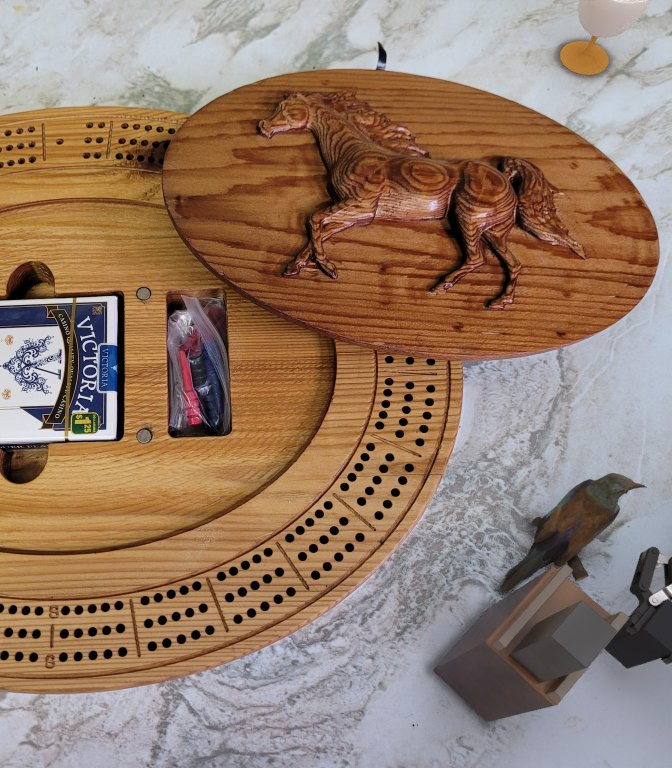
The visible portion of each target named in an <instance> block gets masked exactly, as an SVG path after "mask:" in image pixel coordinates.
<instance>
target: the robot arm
mask: <svg viewBox="0 0 672 768" xmlns="http://www.w3.org/2000/svg"><path fill="white" fill-rule="evenodd" d="M662 566H663V576H664V579H663V580H664V586H663V587H661V588H660V589H658V590H656V591H654V592H652V590H651V589H650V588H651V584H652V581H653V577H654V574H655V572H656V570H658V569H660V568H661V567H662ZM629 592H630V593H631V594H632V595H633V596H635V597H636V599H637V601H638V605H637V606H636V607H635V609H634V610H633V611H632V612H631V613H630V614H629V615H628V616H629V619H628V620H627V622H626V624H627V625H628V628H627V629H626V630H627V631H628V632H629V633H630V634H634V633H637V632H638V631H639V630H640V629H641V628H642V627H643V625H644V624H645V623H646V622H647V620H648V619H649V618H650V617H651V616H652V614H653V613H654V612H655V611H656V609H655V607H656V606H657V605H659V604H661V603H662V602H663V601H664V600H666V599H669V600H670V601H672V556H667V555H665V554H664V553H663V554H662V553H661V551H660V549H659V548H658V547H657V546H651V547H649V548H647V549H645V550H643V551H641V552H640V554H639V557H638V561H637V564H636V567H635V569H634V573H633V575H632V580H631V582H630V586H629ZM660 661H662V662H663V663H664V664H665V665H669V664H672V655H670V656H667V657H663V658H660Z"/></svg>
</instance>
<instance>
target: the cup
mask: <svg viewBox="0 0 672 768" xmlns="http://www.w3.org/2000/svg"><path fill="white" fill-rule="evenodd" d="M652 1H653V0H578V8H577V15H578V16H577V17H578V21H579V23H580V25H581V27H582V28H583V30H584V31H586V33H588V34H589V35H591V38H590V40H589V41H585V40H577V41H571V42H569V43H567V44H565V45H564V46H563V47H562V49H561V50H560V51H559V60H560V61H561V63H562V65H563V66H564V67H565V68H566V69H567V70H569V71H571V72H573V73H575V74H578V75H584V76H593V75H598V74H600V73H602V72H603V71H605V70H606V68H607V67H608V65H609V55H608V54H607V52H606V50H604V49H603V48H602V47H601V46H600V45H598V44H595V43H596V42H597V40H598V39H599V38H603V39H607V38H613V37H617V36H619V35H621V34H623V33H625V32H626V31H628V30H630V29H632V27H634V25H636V23H637V22H638V21H639V20H640V19H641V17H642V16H643V14H645V12H646V10H647V9H648V7H649V6H650V5H651V3H652Z"/></svg>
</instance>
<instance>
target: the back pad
mask: <svg viewBox="0 0 672 768" xmlns="http://www.w3.org/2000/svg"><path fill="white" fill-rule="evenodd" d="M655 609H656V611H655V612H654V613H653V614H652V616H651V617H650V618H649V619H648V620H647V622H646V623H645V624H644V625H643V627H642V628H641V629H640V630H639V631H638V632H637V633H634V634H630V633H629V632H628V631H627V630H626V629H627V628H628V625H627V624H626V623H625V624H624V625H623V626H622V628H621V629H620V630H619V631H618V632H617V634H616V635H615V636H614V637H613V638H612V640H611V641H610V642H609V643H608V644H607V646H606V647H605V648H604V649H603V650H605V651H606V652H607V653H608V654H609V655H610V656H612V657H613V658H614V659H615V660H616V661H617V662H619V663H620V664H621V665H622V666H623V667H624V668H626V669H630V668H634V667H637V666H641V665H644V664H647V663H650V662H653V661H656V660H661V658H663V657H667V656H670V655H672V600H670V599H666V600H664V601H663V602H662V603H661V604H659V605H657V606H656V607H655ZM627 616H628V617H629V616H630V615H627Z"/></svg>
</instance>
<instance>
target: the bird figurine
mask: <svg viewBox="0 0 672 768" xmlns="http://www.w3.org/2000/svg"><path fill="white" fill-rule="evenodd" d="M641 488H642V489H643V488H646V489H647V488H648V487H647V486H646V485H645V484H641V483H638V482H635V481H634V480H633V479H631V478H629V477H628V476H626V475H624V474H620V473H615V472H610V473H607V474H606V475H604V476H601V477H599V478H598V479H591V478H588V479H585V480H583V481H582V482H580V483H579V484H577V485H575V486H574V487H572V488H571V489H570V490H568V492H567V493H566V494H565V495H564V496H563V497H562V498H561V499H560V501H559V502H558V503H557V504H556V506H554V507H553V508H552V509H551V510H550V511H549V512H547V513H546V514H544V516H543V517H541V516H536V517H534V518H533V519H532V521H531V523H532V524H533V525H534V526H535V527H536V530H535V535H534V540H533V542H532V545H531V546H530V549H529V550H528V553H527V555H526V556H524V557H523V558H522V560H520V561H518V562H517V563H516V564H515V565H514V566H512V567H511V568H510V569H509V570H508V571H507V572H506V574H505V576H504V578H503V579H502V581H501V582H500V583H499V584H498V588H499V589H500V591H501V592H503V593H504V594H506V593H507V592H510V591H511V590H512V589H515V588H516V587H518V586H520V585H521V584H523V583H524V582H525V581H527V580H529V579H530V578H532V577H533V576H534V574H536V573H538V571H539V570H542V569H543V568H546V567H547V566H550V565H552V564H554V565H553V566H555V567H562V566H563V565H565V564H567V565H568V566H569V567H570V568H571V569H573V571H572V573H571V575H572V577H573V579H574V582H580V581H582V580H584V579H586V578H588V577H589V573H588V571H587V570H586V568H585V566H584V564H583V561H582V560H581V558H580V556H579V553H580V552H581V551H582V550H583V549H584V548H585V547H586V546H587V545H589V544H590V543H592V542H593V541H595V539H596V538H597V537H598V536H600V535H601V534H602V533H603V532H604V531H605V530H606V529H607V528H609V527H610V526H611V525H612V524H613V522H614V521H615V520H616V519H617V517H618V515H619V514H620V511H621V507H620V505H619V504H618V503H619V500H620V498H621V497H622V496H624V495H627V494H628V493H629V492H630V491H631V490H634V489H641Z"/></svg>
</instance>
